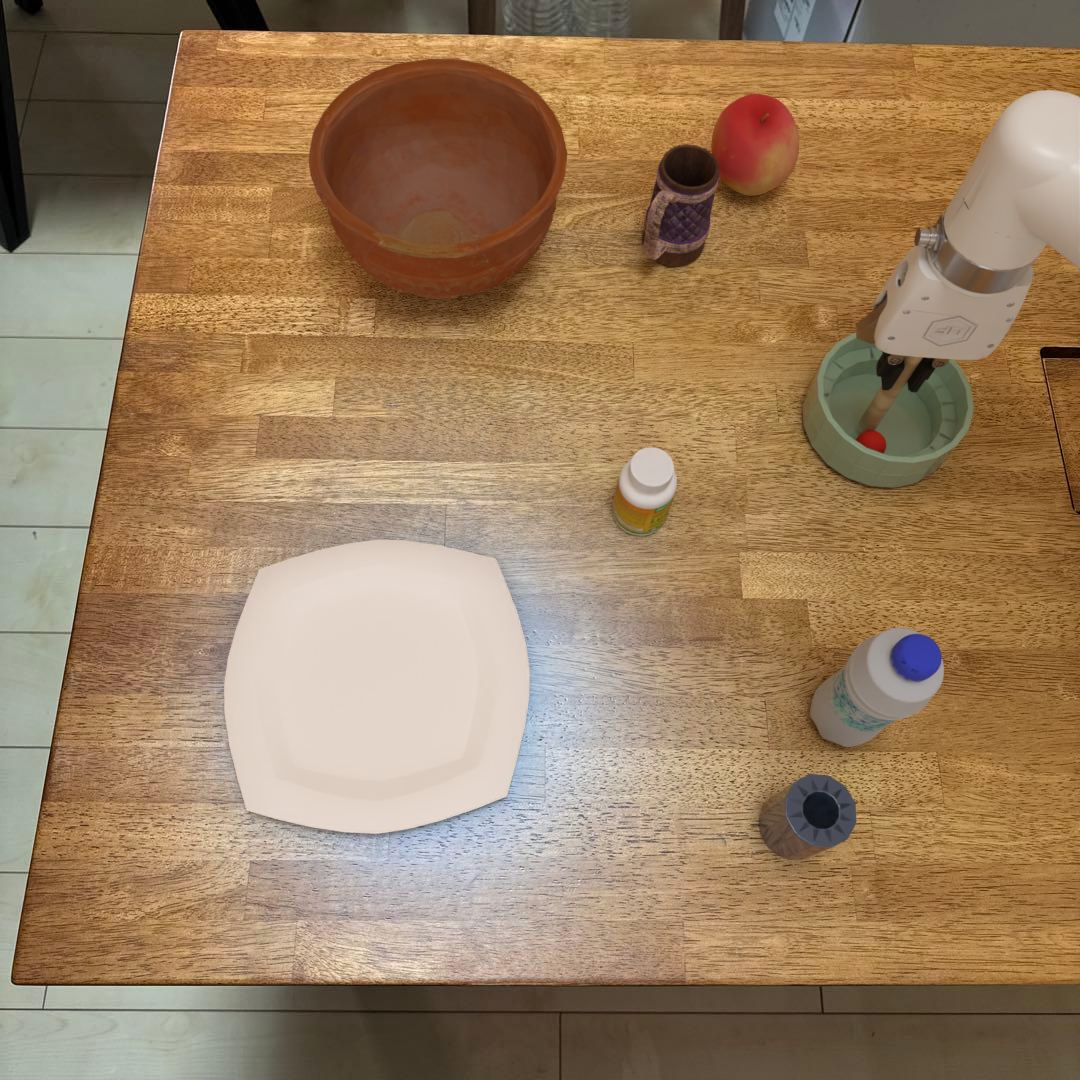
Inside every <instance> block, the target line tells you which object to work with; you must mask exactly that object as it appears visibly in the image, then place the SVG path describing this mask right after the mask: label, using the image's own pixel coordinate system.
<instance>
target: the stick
mask: <svg viewBox="0 0 1080 1080" xmlns="http://www.w3.org/2000/svg"><path fill="white" fill-rule="evenodd" d="M922 359H923V357H913V356H905V358H904V364H905V367H904V370H903V372H902V373H901V375H900V376H899V378H898V379H897V381H896V382H895V384H894V385H893V387H892V388H891V389H889V390H882V385H881V387H880V389H879V390H878V392H877V393H876V395H875V396H874V398H873V400H872V401H871V403H870V404H869V406H868V408H867V409H866V411H865V412H864V414H863V416H862V417H861V419H860V420H859V427H860V429H861V430H862V431H864V432H865V431H868V430H874V431H875V429H876V428H877V426H878V425H879V423H880V422H881V420H882V419H883V417H884V416H885V414H886V413H887V411H888V410H889V408H890V407H891V405H892V404H893V402H894V401H895V399H896V398H897V396H898V395H899V393H900V392H901V390H902V389H903V387H904V386H905V384H906V383H907V381H908V380H909V378H910V377H911V375H912V374H913V372H914V371H915V369H916V368H917V366H918V365H919V363H920V362H921V360H922Z"/></svg>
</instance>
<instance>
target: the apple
mask: <svg viewBox="0 0 1080 1080" xmlns="http://www.w3.org/2000/svg"><path fill="white" fill-rule="evenodd" d="M710 146H711V147H710V148H711V149H710V150H711V153H712V154H713V156H714V157H715V158H716V159H717V162H718V165H719V179H721V180H722V182H723V183H724V184H725V185H726V186H727V187H728V188H730V189H731V190H733V191H734V192H737V193H739V194H740V195H744V196H751V197H752V196H753V197H756V196H760V195H763V194H766V193H768V192H770V191H772V190H775V188H777V187H778V186H780V185H781V184H783V183H785V181H786V180H787V179H789V177H790V176H791V175H792V173H793V172H794V170H795V167H796V165H797V163H798V162H797V161H798V158H799V153H800V134H799V131H798V125H797V123H796V121H795V118H794V116H793V114H792V112H791V111H790V109H789V108H788V107H787V106H786V104H784V103H783V102H782V101H781V100H779V99H778V98H775V97H773V96H770V95H767V94H761V93H751V94H747V95H744V96H741V97H739V98H736V99H735V100H733V101H732V102H730V103H729V104H728V105H727V106H726V107H725V108H724V109H723V110H722V112H721V113H720V114H719V116H718V118H717V119H716V123H715V124H714V128H713V131H712V136H711V145H710Z"/></svg>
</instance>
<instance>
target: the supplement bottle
mask: <svg viewBox="0 0 1080 1080" xmlns="http://www.w3.org/2000/svg"><path fill="white" fill-rule="evenodd" d="M677 488H678V477H677V473H676V471H675V464H674V461H673V459H672V457H671V455H669V453H667V452H666V451H664V450H663V449H661V448H659V447H655V446H654V447H653V446H650V447H644V448H640V449H639V450H638V451H636V452H635V453H634V455H632V457H631V458H630V459H629V460H628V461H627V462H625V464H624V465H623V466H622V468H621V470H620V472H619V476H618V480H617V484H616V489H615V494H614V497H613V502H612V509H611V510H612V511H611V512H612V516H613V519H614V521H615V524H616V525H618V527H619V528H620V529H621V530H622V531H624V532H625V533H628V534H630V535H632V536H637V537H645V536H649V535H652V534H654V533H656V532H657V531H659V530H660V529H661V528H662V527H663V526H664V524H665V522H666V520H667V517H668V515H669V513H670V510H671V507H672V504H673V501H674V497H675V495H676V493H677Z"/></svg>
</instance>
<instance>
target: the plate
mask: <svg viewBox="0 0 1080 1080" xmlns="http://www.w3.org/2000/svg"><path fill="white" fill-rule="evenodd" d="M257 571H258V572H257V574H256V576H255V578H254V581H253V583H252V586H251V588H250V591H249V592H248V595H247V597H246V601H245V604H244V605H243V609H242V612H241V614H240V617H239V619H238V622H237V624H236V627H235V631H234V634H233V638H232V641H231V644H230V648H229V652H228V656H227V661H226V667H225V674H224V683H223V707H224V708H223V714H224V719H225V720H224V721H225V727H226V735H227V742H228V746H229V750H230V754H231V758H232V762H233V767H234V771H235V775H236V779H237V782H238V786H239V789H240V793H241V797H242V799H243V800H242V801H243V804H244V806H245V810H246V811H247V812H249V813H250V812H251V813H253V814H256V815H260V816H263V817H268V818H271V819H274V820H279V821H283V822H287V823H291V824H294V825H295V824H296V825H300V826H305V827H309V828H314V829H320V830H325V831H326V830H328V831H333V832H341V833H350V834H351V833H352V834H373V835H374V834H376V835H378V834H385V833H391V832H399V831H404V830H411V829H414V828H418V827H422V826H426V825H429V824H430V825H431V824H434V823H437V822H440V821H444V820H447V819H450V818H453V817H456V816H459V815H462V814H464V813H467V812H470V811H473V810H476V809H479V808H482V807H485V806H487V805H490V804H492V803H494V802H496V801H499V800H501V799H504V798H507V797H508V794H509V791H510V787H511V784H512V779H513V776H514V773H515V769H516V765H517V762H518V759H519V753H520V749H521V745H522V741H523V737H524V733H525V730H526V729H525V728H526V724H527V723H526V722H527V715H528V708H529V703H530V683H531V682H530V680H531V679H530V678H531V669H530V661H529V654H528V647H527V642H526V638H525V634H524V631H523V626H522V623H521V619H520V616H519V613H518V610H517V607H516V605H515V602H514V600H513V597H512V594H511V592H510V589H509V586H508V583H507V581H506V579H505V577H504V574H503V572H502V569H501V567H500V564H499V561H498V560H497V558H494V557H491V556H486V555H483V554H480V553H477V552H476V553H475V552H471V551H468V550H463V549H459V548H453V547H449V546H444V545H439V544H433V543H426V542H421V541H413V540H404V539H403V540H402V539H401V540H400V539H383V538H377V539H370V540H362V541H355V542H347V543H344V544H338V545H334V546H330V547H326V548H322V549H318V550H314V551H311V552H308V553H304V554H301V555H296V556H294V557H291V558H286V559H284V560H280V561H278V562H275V563H273V564H270V565H267V566H264V567H261V568H259V569H258V570H257Z"/></svg>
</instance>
